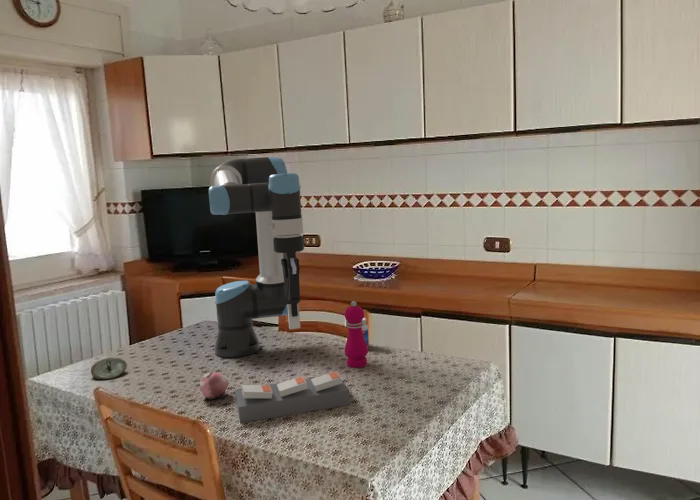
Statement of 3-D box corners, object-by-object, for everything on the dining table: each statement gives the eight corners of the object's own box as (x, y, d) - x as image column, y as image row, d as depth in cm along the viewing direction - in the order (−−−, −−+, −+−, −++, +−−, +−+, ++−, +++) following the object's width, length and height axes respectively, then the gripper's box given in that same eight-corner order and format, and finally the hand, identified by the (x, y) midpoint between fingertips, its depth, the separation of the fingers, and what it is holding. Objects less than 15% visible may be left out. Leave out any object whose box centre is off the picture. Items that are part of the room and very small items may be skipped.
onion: (197, 402, 160) (192, 375, 161) (221, 395, 165) (217, 370, 166) (211, 400, 154) (207, 372, 155) (236, 393, 160) (232, 367, 161)
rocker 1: (241, 390, 149) (242, 384, 149) (269, 391, 151) (269, 384, 151) (243, 398, 144) (244, 391, 144) (271, 398, 146) (272, 391, 146)
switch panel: (236, 404, 155) (234, 388, 154) (338, 388, 162) (337, 373, 161) (239, 422, 143) (238, 406, 143) (350, 404, 150) (349, 389, 150)
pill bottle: (360, 350, 193) (358, 322, 192) (349, 347, 197) (348, 319, 196) (372, 346, 197) (371, 318, 195) (362, 343, 201) (360, 315, 199)
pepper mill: (355, 359, 185) (351, 297, 182) (373, 363, 181) (370, 299, 178) (340, 365, 180) (336, 302, 177) (358, 370, 175) (355, 305, 172)
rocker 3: (312, 384, 154) (310, 378, 153) (337, 376, 155) (335, 370, 155) (316, 391, 149) (314, 385, 149) (342, 383, 151) (340, 376, 150)
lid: (127, 367, 189) (125, 352, 189) (128, 376, 180) (126, 361, 180) (92, 372, 186) (90, 357, 185) (90, 383, 176) (88, 367, 176)
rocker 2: (278, 389, 152) (276, 383, 151) (304, 381, 153) (302, 375, 153) (281, 397, 147) (279, 390, 146) (307, 388, 148) (306, 382, 148)
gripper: (269, 234, 151) (276, 324, 154) (276, 239, 139) (283, 336, 142) (298, 232, 153) (304, 320, 156) (307, 236, 140) (314, 332, 143)
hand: (294, 327), depth 149 cm, fingers closed
